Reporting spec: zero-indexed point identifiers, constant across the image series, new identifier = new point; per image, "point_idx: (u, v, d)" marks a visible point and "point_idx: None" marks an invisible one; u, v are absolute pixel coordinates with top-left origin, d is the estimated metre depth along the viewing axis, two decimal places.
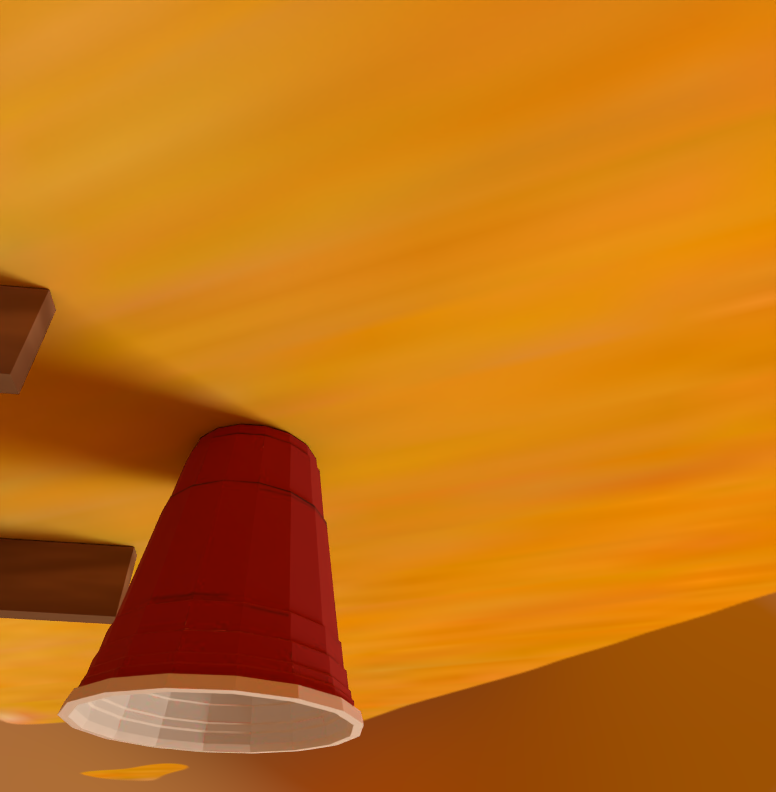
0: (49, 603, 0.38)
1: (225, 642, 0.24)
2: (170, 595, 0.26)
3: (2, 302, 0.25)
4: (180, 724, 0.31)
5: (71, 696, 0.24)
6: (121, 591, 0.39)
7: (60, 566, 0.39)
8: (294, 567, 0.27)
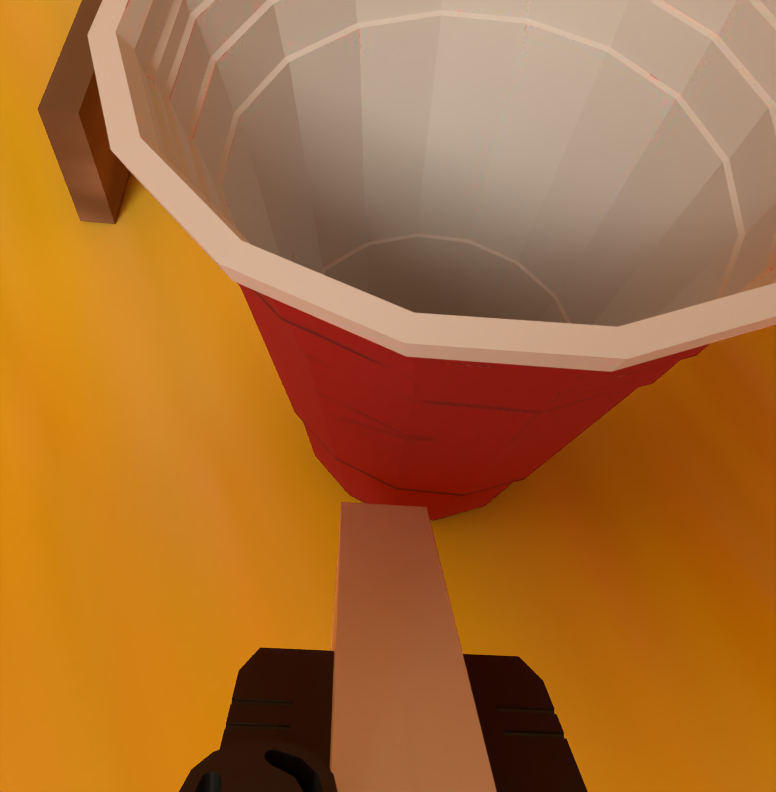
0: None
1: None
2: None
3: None
4: None
5: None
6: (92, 154, 0.20)
7: None
8: None
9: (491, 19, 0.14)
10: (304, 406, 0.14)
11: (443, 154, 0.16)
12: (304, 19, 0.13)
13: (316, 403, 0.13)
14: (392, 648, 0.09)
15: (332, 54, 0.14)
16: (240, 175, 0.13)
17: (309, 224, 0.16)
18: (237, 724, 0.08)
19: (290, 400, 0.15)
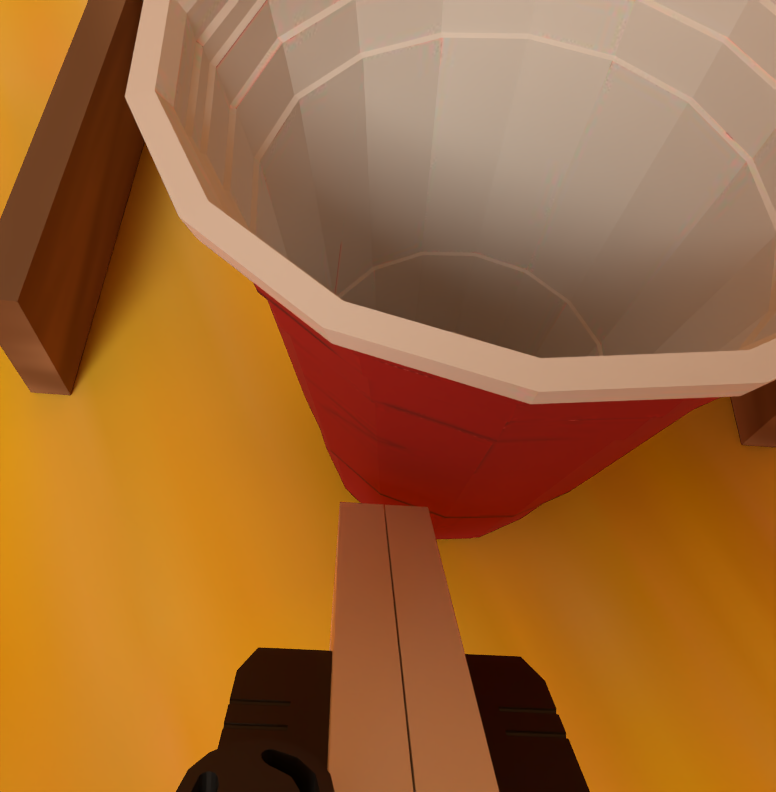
0: (66, 198, 0.18)
1: None
2: None
3: None
4: None
5: None
6: (37, 336, 0.17)
7: (88, 254, 0.20)
8: (642, 440, 0.12)
9: (577, 50, 0.14)
10: (306, 391, 0.14)
11: (511, 178, 0.16)
12: (385, 19, 0.13)
13: (307, 388, 0.13)
14: (390, 648, 0.09)
15: (410, 58, 0.14)
16: (288, 156, 0.13)
17: (364, 221, 0.16)
18: (235, 723, 0.08)
19: (300, 384, 0.15)
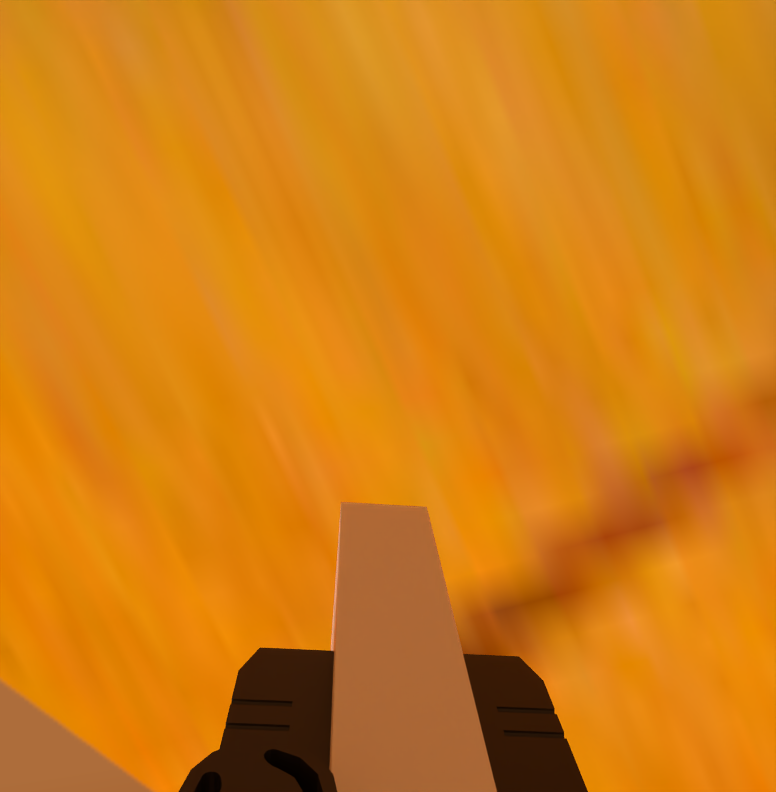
0: None
1: None
2: None
3: None
4: None
5: None
6: None
7: None
8: None
9: None
10: None
11: None
12: None
13: None
14: (392, 648, 0.09)
15: None
16: None
17: None
18: (237, 724, 0.08)
19: None
